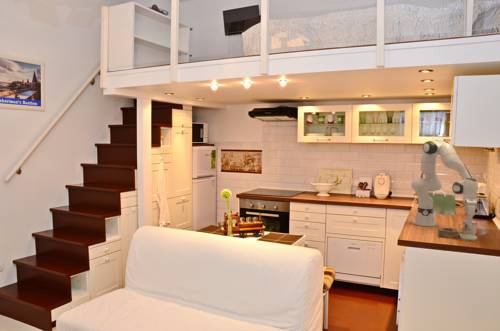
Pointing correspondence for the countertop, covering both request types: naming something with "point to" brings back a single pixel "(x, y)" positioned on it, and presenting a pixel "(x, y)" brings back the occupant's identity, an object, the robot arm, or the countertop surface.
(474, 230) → the teacup with lid
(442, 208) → the grocery bag
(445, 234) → the pocket block
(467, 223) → the peg
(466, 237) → the tray
